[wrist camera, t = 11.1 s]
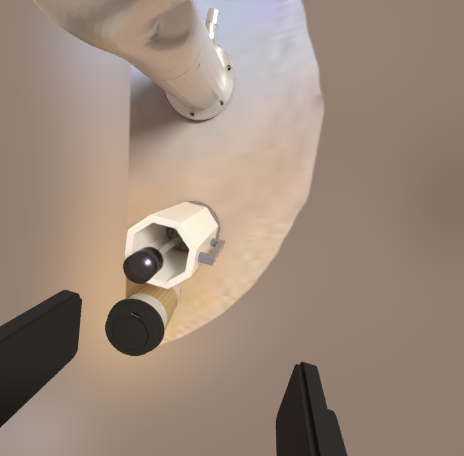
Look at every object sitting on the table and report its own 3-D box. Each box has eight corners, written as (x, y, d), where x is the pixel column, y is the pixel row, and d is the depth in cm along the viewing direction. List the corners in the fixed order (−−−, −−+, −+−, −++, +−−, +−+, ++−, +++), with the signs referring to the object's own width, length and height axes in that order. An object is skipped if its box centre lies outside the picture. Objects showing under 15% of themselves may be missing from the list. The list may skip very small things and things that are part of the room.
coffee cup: (140, 298, 55) (94, 343, 40) (153, 260, 52) (110, 294, 38) (180, 316, 55) (148, 369, 40) (195, 279, 52) (167, 321, 38)
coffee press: (173, 195, 49) (128, 206, 33) (234, 211, 48) (218, 230, 32) (164, 245, 51) (119, 276, 36) (222, 261, 50) (202, 301, 35)
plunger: (173, 208, 46) (112, 231, 28) (210, 218, 45) (172, 248, 27) (166, 244, 47) (106, 288, 30) (202, 254, 47) (162, 305, 29)
